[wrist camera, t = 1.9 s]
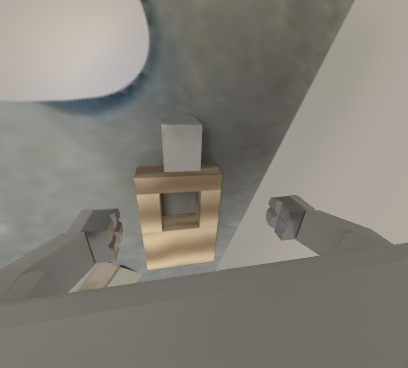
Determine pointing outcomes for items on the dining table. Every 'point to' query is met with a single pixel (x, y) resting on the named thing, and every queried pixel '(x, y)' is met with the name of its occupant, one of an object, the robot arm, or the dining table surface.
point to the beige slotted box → (106, 277)
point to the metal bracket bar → (181, 142)
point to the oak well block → (178, 224)
